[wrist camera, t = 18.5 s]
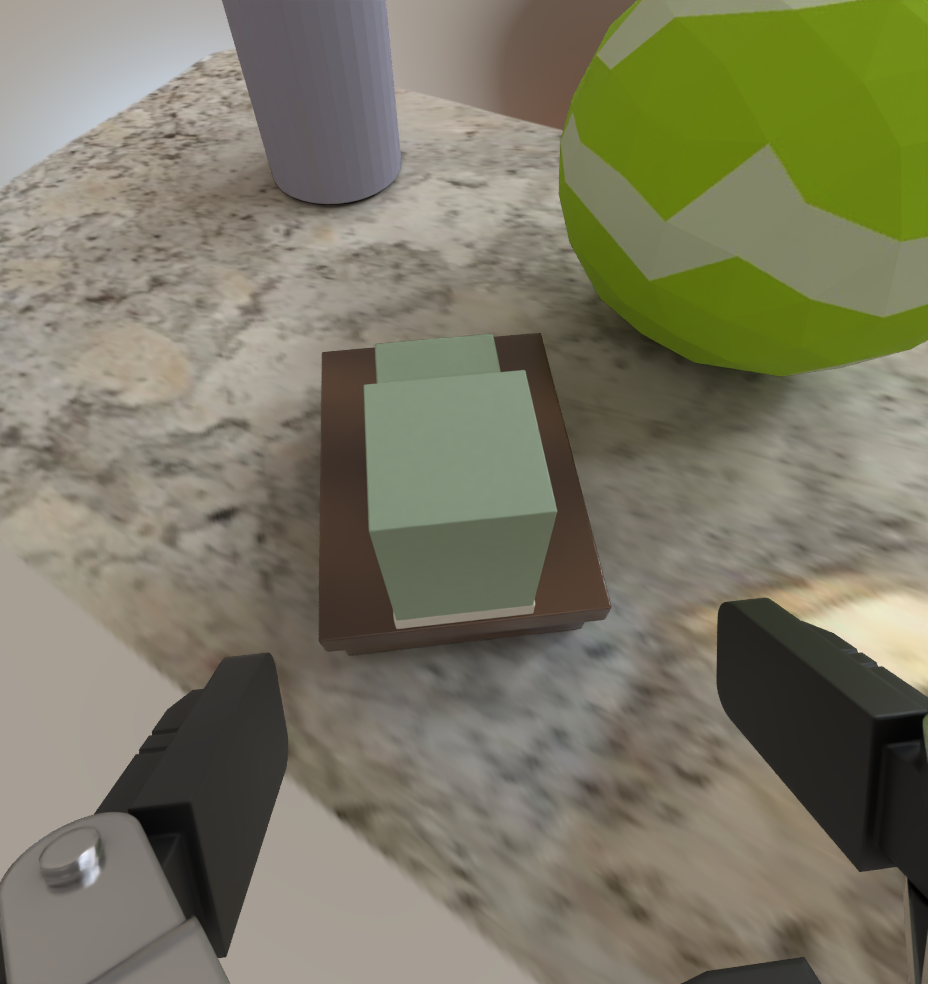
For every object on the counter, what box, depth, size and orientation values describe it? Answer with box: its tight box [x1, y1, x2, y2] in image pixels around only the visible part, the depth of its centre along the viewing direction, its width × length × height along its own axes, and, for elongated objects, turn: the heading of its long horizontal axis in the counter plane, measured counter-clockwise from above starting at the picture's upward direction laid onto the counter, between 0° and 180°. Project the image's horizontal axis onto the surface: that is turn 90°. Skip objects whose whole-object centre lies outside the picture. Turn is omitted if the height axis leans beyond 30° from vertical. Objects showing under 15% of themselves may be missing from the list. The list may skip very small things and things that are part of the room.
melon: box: [559, 0, 928, 376], centre depth 30 cm, size 20×25×20 cm
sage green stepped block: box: [364, 334, 557, 629], centre depth 24 cm, size 12×6×8 cm, turn 7°
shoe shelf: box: [319, 333, 611, 656], centre depth 30 cm, size 16×12×4 cm
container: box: [222, 0, 401, 204], centre depth 42 cm, size 10×10×15 cm
